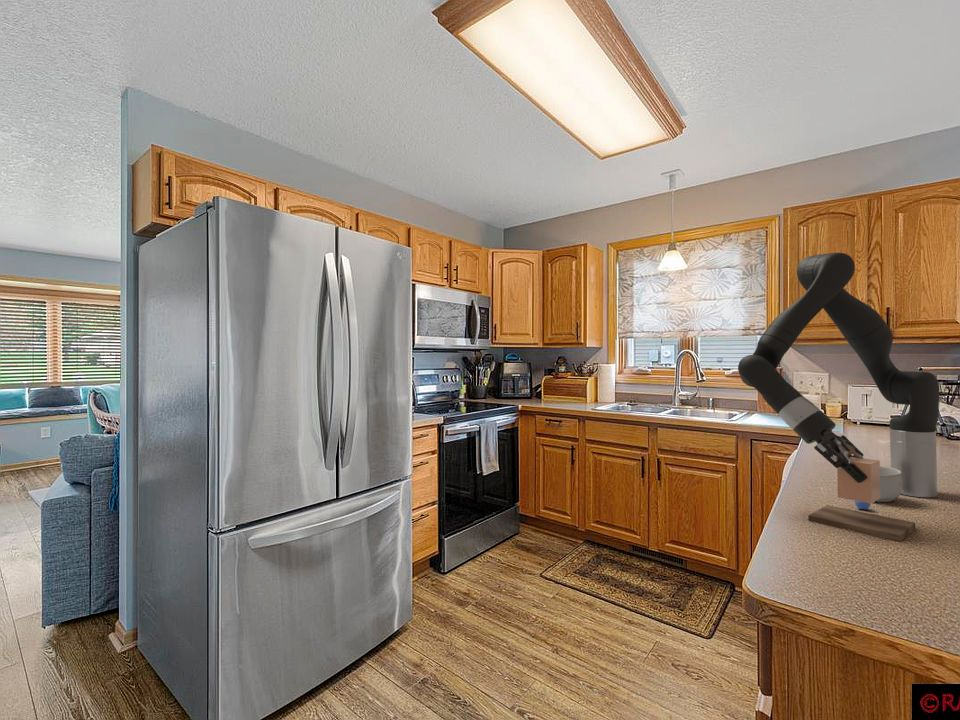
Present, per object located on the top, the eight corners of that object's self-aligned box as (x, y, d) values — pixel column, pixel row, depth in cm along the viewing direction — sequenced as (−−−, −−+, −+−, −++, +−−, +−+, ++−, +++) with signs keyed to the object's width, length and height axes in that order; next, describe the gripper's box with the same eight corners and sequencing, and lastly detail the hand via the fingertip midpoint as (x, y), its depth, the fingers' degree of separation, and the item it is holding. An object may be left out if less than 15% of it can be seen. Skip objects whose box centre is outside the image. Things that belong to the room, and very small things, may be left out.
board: (827, 510, 114) (827, 505, 114) (915, 528, 101) (915, 522, 101) (808, 520, 107) (808, 515, 107) (899, 541, 94) (899, 535, 94)
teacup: (913, 506, 116) (912, 474, 116) (863, 504, 118) (862, 472, 118) (877, 490, 129) (876, 462, 129) (833, 489, 131) (832, 461, 131)
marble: (857, 506, 116) (856, 494, 116) (872, 509, 113) (872, 497, 113) (853, 509, 114) (852, 496, 114) (868, 512, 112) (868, 499, 112)
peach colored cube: (847, 492, 108) (846, 456, 108) (880, 498, 103) (879, 460, 103) (837, 497, 104) (837, 459, 104) (871, 503, 100) (870, 464, 100)
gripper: (806, 411, 106) (873, 473, 96) (829, 407, 114) (893, 464, 104) (781, 432, 110) (842, 493, 100) (805, 426, 118) (864, 482, 109)
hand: (868, 478), depth 102 cm, fingers closed on peach colored cube, 6 cm apart
